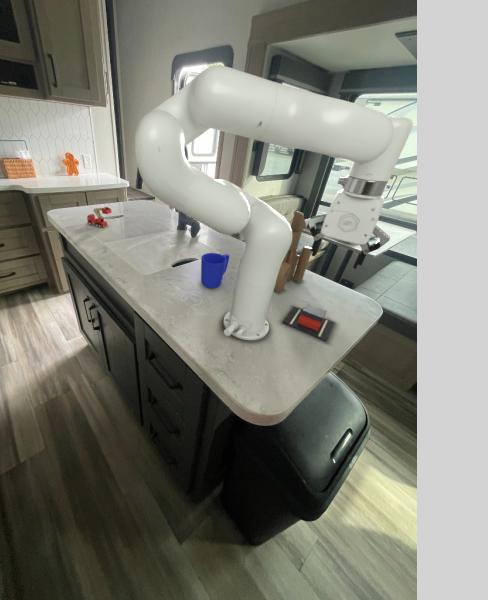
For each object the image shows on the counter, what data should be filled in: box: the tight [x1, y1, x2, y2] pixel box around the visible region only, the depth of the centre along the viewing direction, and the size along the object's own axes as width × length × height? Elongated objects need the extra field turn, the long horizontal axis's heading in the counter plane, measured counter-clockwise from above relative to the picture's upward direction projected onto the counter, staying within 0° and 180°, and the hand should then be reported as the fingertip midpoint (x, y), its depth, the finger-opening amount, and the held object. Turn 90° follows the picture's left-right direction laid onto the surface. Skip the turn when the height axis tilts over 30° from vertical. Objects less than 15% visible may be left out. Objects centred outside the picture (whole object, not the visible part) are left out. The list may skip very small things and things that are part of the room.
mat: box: [282, 306, 335, 342], centre depth 78 cm, size 10×12×1 cm
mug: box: [200, 252, 230, 289], centre depth 90 cm, size 8×12×10 cm
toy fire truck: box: [86, 206, 112, 228], centre depth 128 cm, size 3×14×10 cm, turn 64°
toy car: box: [297, 302, 328, 331], centre depth 77 cm, size 8×4×6 cm
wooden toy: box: [273, 210, 313, 293], centre depth 89 cm, size 15×7×25 cm, turn 129°
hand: (334, 260), depth 66 cm, fingers open, 9 cm apart
